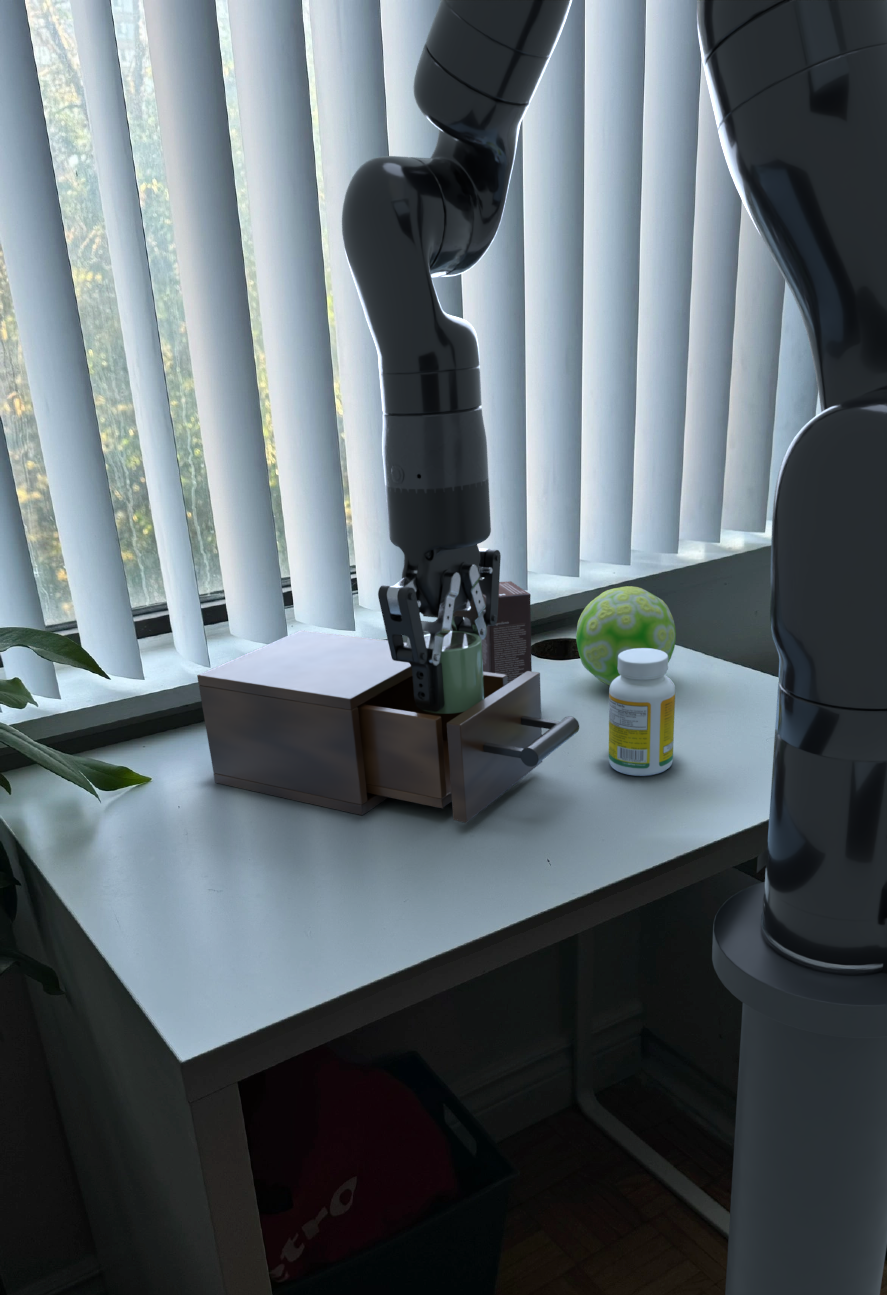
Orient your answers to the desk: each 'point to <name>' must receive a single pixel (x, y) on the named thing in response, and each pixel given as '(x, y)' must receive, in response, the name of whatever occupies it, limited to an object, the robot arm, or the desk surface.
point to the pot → (461, 671)
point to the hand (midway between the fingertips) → (450, 695)
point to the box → (509, 634)
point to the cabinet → (298, 717)
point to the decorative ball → (622, 629)
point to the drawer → (457, 744)
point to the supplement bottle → (641, 713)
